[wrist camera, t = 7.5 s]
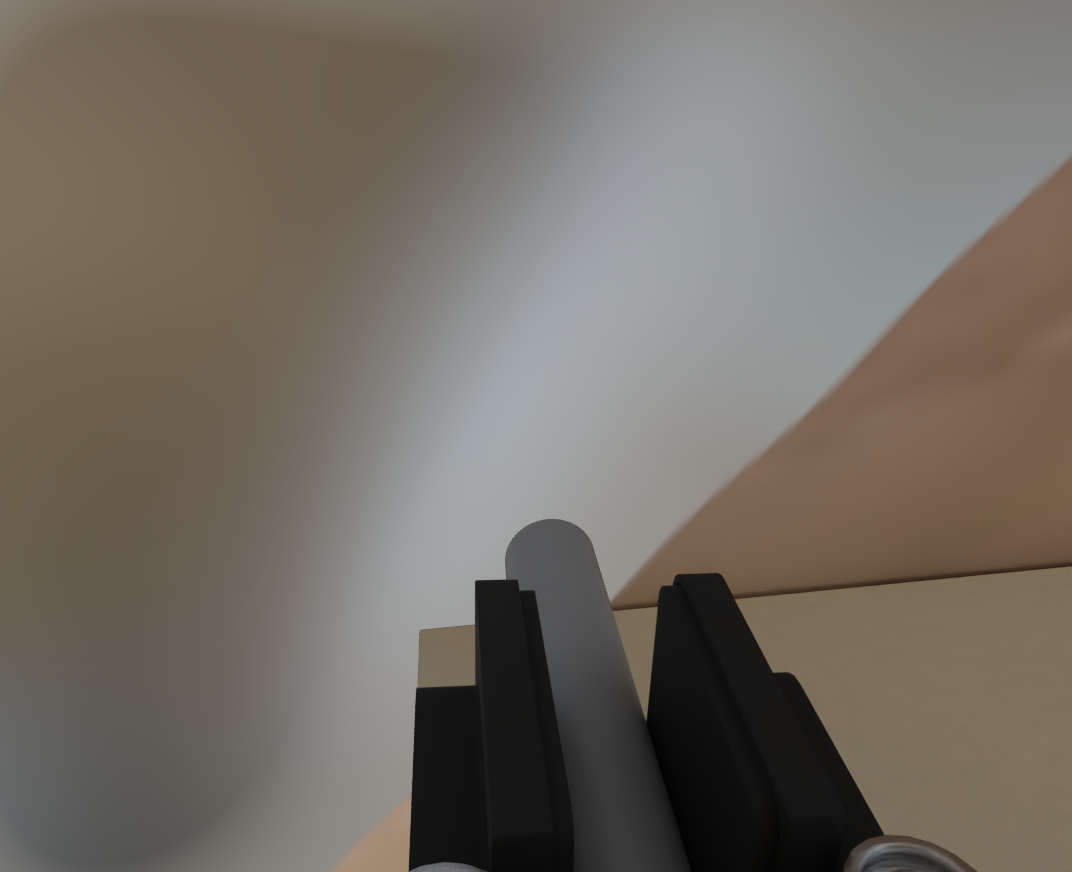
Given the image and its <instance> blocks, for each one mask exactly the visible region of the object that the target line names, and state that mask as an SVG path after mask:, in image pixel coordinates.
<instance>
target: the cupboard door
mask: <svg viewBox="0 0 1072 872" xmlns="http://www.w3.org/2000/svg"><path fill="white" fill-rule="evenodd" d="M505 564H506V565H505V566H506V580H510V579H517V580H518V583H519V590H520V591H521V590H534V591H535V594H536V600H537V606H538V612H539V617H540V623H541V629H542V635H543V641H544V647H545V653H546V659H547V664H548V670H549V676H550V682H551V688H552V694H553V700H554V706H555V712H556V717H557V723H558V729H559V735H560V741H561V747H562V753H563V759H564V764H565V770H566V776H567V782H568V788H569V794H570V800H571V806H572V814H573V826H574V866H573V872H692V870H691V867H690V864H689V861H688V857H687V854H686V851H685V847H684V844H683V841H682V838H681V834H680V831H679V828H678V824H677V821H676V818H675V815H674V811H673V808H672V805H671V801H670V798H669V795H668V792H667V788H666V785H665V782H664V778H663V775H662V772H661V769H660V765H659V762H658V759H657V756H656V752H655V749H654V746H653V742H652V739H651V736H650V733H649V729H648V726H647V723H646V721H647V711H648V701H649V691H650V681H651V670H652V660H653V650H654V640H655V630H656V619H657V609H658V607H650V608H640V609H630V610H620V611H612V608H611V604H610V601H609V598H608V595H607V591H606V588H605V585H604V582H603V578H602V575H601V572H600V568H599V565H598V562H597V559H596V555H595V552H594V549H593V545H592V543H591V541H590V539H589V537H588V536H587V535H586V534H585V532H584V531H583V530H581V529H580V528H579V527H578V526H576V525H574V524H572V523H570V522H567V521H564V520H558V519H547V520H541V521H537V522H535V523H532V524H530V525H528V526H526V527H525V528H523V529H522V530H520V531H519V532H518V533H517V534H516V535H515V537H514V538H513V539H512V541H511V542H510V544H509V546H508V548H507V552H506V557H505ZM735 601H736V603H737V605H738V607H739V609H740V610H741V612H742V614H743V616H744V618H745V620H746V622H747V624H748V626H749V628H750V629H751V631H752V633H753V635H754V637H755V639H756V641H757V643H758V645H759V647H760V649H761V650H762V652H763V654H764V656H765V658H766V660H767V662H768V664H769V666H770V668H771V670H772V671H773V673H775V672H789V673H791V674H793V675H794V676H795V677H796V678H797V680H798V681H799V682H800V684H801V686H802V687H803V689H804V691H805V693H806V695H807V696H808V698H809V700H810V702H811V704H812V705H813V707H814V709H815V711H816V713H817V714H818V716H819V718H820V720H821V721H822V723H823V725H824V727H825V729H826V730H827V732H828V734H829V736H830V738H831V739H832V741H833V743H834V745H835V747H836V748H837V750H838V752H839V754H840V756H841V757H842V759H843V761H844V763H845V765H846V766H847V768H848V770H849V772H850V773H851V775H852V777H853V779H854V781H855V782H856V784H857V786H858V788H859V790H860V791H861V793H862V795H863V797H864V799H865V800H866V802H867V804H868V806H869V808H870V809H871V811H872V813H873V815H874V817H875V818H876V820H877V822H878V824H879V825H880V827H881V829H882V831H883V833H884V834H885V835H900V836H910V837H914V838H917V839H921V840H925V841H928V842H932V843H934V844H936V845H938V846H940V847H942V848H944V849H946V850H948V851H950V852H952V853H954V854H956V855H957V856H958V857H959V858H961V859H962V860H963V861H965V862H966V863H967V864H968V865H970V866H971V867H972V868H974V869H975V870H976V871H977V872H1072V566H1070V567H1060V568H1050V569H1039V570H1029V571H1019V572H1009V573H998V574H988V575H978V576H968V577H957V578H947V579H937V580H927V581H916V582H906V583H896V584H886V585H876V586H865V587H855V588H845V589H835V590H824V591H814V592H804V593H794V594H783V595H773V596H763V597H753V598H742V599H735ZM468 685H475V625H467V626H456V627H446V628H436V629H426V630H420V633H419V662H418V688H421V687H445V686H468Z"/></svg>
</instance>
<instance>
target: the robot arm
mask: <svg viewBox="0 0 1072 872" xmlns="http://www.w3.org/2000/svg"><path fill="white" fill-rule="evenodd" d="M415 704H416V705H415V728H414V730H415V731H414V753H413V778H412V803H411V828H410V853H409V872H573V866H574V826H573V814H572V806H571V800H570V794H569V788H568V782H567V776H566V770H565V764H564V759H563V753H562V747H561V741H560V735H559V729H558V723H557V717H556V712H555V706H554V700H553V694H552V688H551V682H550V676H549V670H548V664H547V659H546V653H545V647H544V641H543V635H542V629H541V623H540V617H539V612H538V606H537V600H536V594H535V591H534V590H521V591H520V590H519V583H518V580H517V579H510V580H477V581H475V685H468V686H445V687H421V688H417V689H416V703H415ZM646 723H647V726H648V729H649V733H650V736H651V739H652V742H653V746H654V749H655V752H656V756H657V759H658V762H659V765H660V769H661V772H662V775H663V778H664V782H665V785H666V788H667V792H668V795H669V798H670V801H671V805H672V808H673V811H674V815H675V818H676V821H677V824H678V828H679V831H680V834H681V838H682V841H683V844H684V847H685V851H686V854H687V857H688V861H689V864H690V867H691V870H692V872H977V871H976V870H975V869H974V868H972V867H971V866H970V865H968V864H967V863H966V862H965V861H963V860H962V859H961V858H959V857H958V856H957V855H956V854H954V853H952V852H950V851H948V850H946V849H944V848H942V847H940V846H938V845H936V844H934V843H932V842H928V841H925V840H921V839H917V838H914V837H910V836H900V835H885V834H884V833H883V831H882V829H881V827H880V825H879V824H878V822H877V820H876V818H875V817H874V815H873V813H872V811H871V809H870V808H869V806H868V804H867V802H866V800H865V799H864V797H863V795H862V793H861V791H860V790H859V788H858V786H857V784H856V782H855V781H854V779H853V777H852V775H851V773H850V772H849V770H848V768H847V766H846V765H845V763H844V761H843V759H842V757H841V756H840V754H839V752H838V750H837V748H836V747H835V745H834V743H833V741H832V739H831V738H830V736H829V734H828V732H827V730H826V729H825V727H824V725H823V723H822V721H821V720H820V718H819V716H818V714H817V713H816V711H815V709H814V707H813V705H812V704H811V702H810V700H809V698H808V696H807V695H806V693H805V691H804V689H803V687H802V686H801V684H800V682H799V681H798V680H797V678H796V677H795V676H794V675H793V674H791V673H789V672H775V673H773V671H772V670H771V668H770V666H769V664H768V662H767V660H766V658H765V656H764V654H763V652H762V650H761V649H760V647H759V645H758V643H757V641H756V639H755V637H754V635H753V633H752V631H751V629H750V628H749V626H748V624H747V622H746V620H745V618H744V616H743V614H742V612H741V610H740V609H739V607H738V605H737V603H736V601H735V599H734V597H733V595H732V593H731V591H730V589H729V588H728V586H727V584H726V582H725V580H724V578H723V577H722V575H721V574H719V573H705V574H678V575H676V576H675V579H674V582H673V586H662V587H661V589H660V592H659V599H658V609H657V619H656V630H655V640H654V650H653V660H652V670H651V681H650V691H649V701H648V711H647V721H646Z"/></svg>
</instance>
